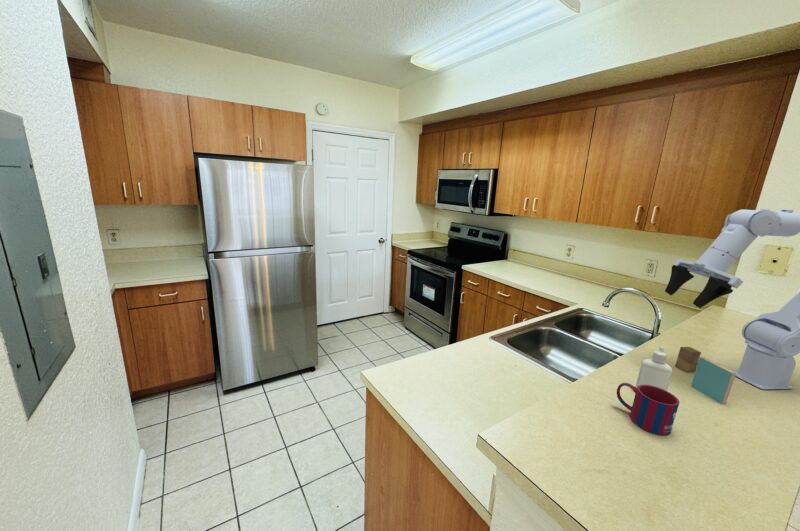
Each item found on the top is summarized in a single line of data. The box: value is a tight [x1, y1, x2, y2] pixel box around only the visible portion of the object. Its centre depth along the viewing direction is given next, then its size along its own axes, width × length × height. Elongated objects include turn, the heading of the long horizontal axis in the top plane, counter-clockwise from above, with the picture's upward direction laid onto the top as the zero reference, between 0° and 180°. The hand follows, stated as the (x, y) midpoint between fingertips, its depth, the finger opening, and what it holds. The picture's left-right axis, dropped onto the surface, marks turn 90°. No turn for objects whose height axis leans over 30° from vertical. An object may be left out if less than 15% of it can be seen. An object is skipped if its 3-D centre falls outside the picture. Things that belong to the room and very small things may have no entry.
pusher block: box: [674, 346, 702, 373], centre depth 88 cm, size 3×3×6 cm
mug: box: [616, 382, 680, 436], centre depth 67 cm, size 7×10×7 cm
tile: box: [690, 356, 736, 405], centre depth 77 cm, size 1×7×8 cm, turn 7°
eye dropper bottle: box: [635, 346, 673, 391], centre depth 75 cm, size 4×6×12 cm
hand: (681, 299), depth 81 cm, fingers open, 7 cm apart
